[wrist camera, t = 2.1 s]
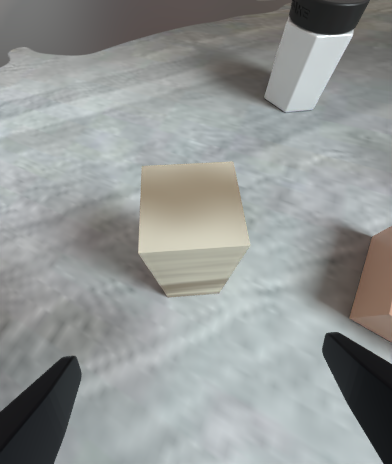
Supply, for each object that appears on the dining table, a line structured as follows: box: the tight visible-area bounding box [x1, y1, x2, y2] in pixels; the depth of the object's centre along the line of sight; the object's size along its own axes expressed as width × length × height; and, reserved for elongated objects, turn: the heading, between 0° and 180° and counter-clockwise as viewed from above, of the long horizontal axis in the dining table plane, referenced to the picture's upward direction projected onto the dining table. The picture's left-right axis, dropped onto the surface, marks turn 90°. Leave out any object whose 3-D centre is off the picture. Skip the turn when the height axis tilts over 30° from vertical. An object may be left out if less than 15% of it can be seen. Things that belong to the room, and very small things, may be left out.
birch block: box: [138, 162, 250, 297], centre depth 16 cm, size 5×5×12 cm
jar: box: [264, 0, 370, 112], centre depth 29 cm, size 9×8×12 cm
